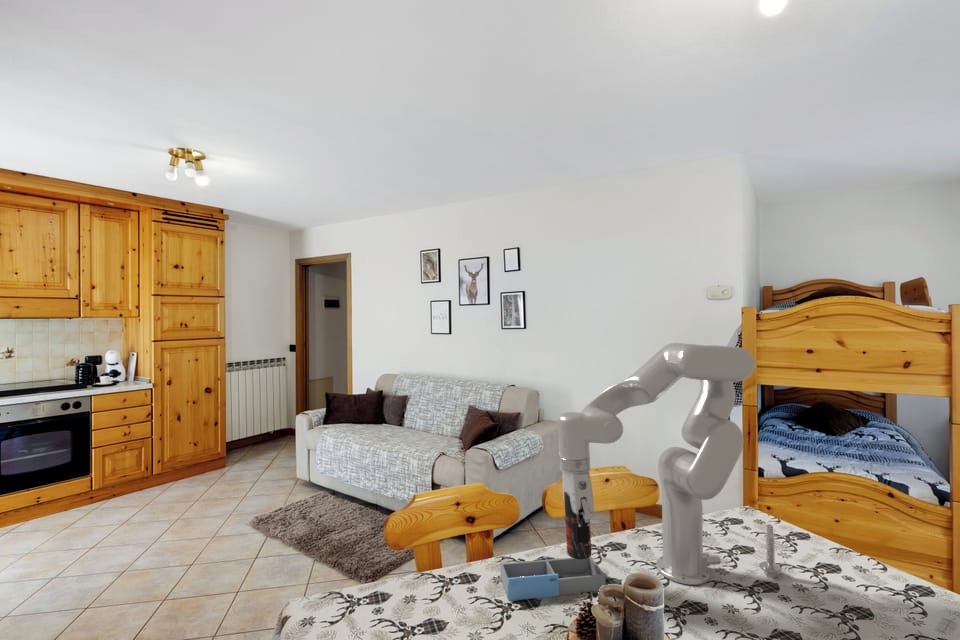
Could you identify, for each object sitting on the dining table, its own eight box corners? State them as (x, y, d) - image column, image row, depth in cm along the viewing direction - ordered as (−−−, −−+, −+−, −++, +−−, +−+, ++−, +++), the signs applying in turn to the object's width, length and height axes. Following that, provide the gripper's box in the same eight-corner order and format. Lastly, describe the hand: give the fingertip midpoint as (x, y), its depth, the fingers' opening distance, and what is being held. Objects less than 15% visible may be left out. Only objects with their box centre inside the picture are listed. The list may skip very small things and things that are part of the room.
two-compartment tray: (590, 569, 117) (590, 550, 117) (606, 591, 108) (606, 570, 108) (500, 577, 114) (500, 557, 114) (508, 600, 104) (508, 579, 105)
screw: (760, 568, 117) (782, 574, 115) (758, 576, 114) (781, 583, 111) (759, 518, 118) (781, 523, 115) (758, 525, 114) (781, 530, 111)
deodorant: (592, 560, 109) (588, 498, 109) (567, 558, 110) (563, 497, 110) (591, 547, 115) (587, 488, 115) (567, 546, 116) (564, 488, 116)
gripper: (603, 473, 104) (607, 550, 104) (576, 452, 121) (580, 518, 121) (572, 476, 103) (576, 554, 103) (550, 454, 120) (553, 521, 120)
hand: (578, 534), depth 112 cm, fingers closed on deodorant, 5 cm apart
